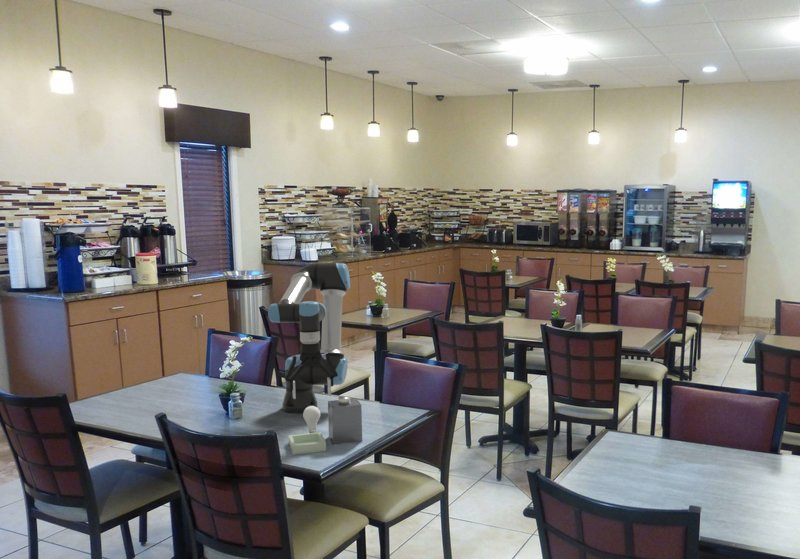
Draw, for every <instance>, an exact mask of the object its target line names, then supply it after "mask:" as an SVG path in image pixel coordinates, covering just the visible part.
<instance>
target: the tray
mask: <svg viewBox="0 0 800 559" xmlns="http://www.w3.org/2000/svg"><path fill="white" fill-rule="evenodd" d="M288 445H289V448H290V451H291V454H292V455H301V454H310V453H316V452H326V451H327V441H326V440H325V438H324V436H323V434H322V432H321V431H318V432H317V431H316V433H309V432H307V433H301V434H300V433H298V434H291V435H290V434H288Z"/></svg>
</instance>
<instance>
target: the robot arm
mask: <svg viewBox="0 0 800 559" xmlns="http://www.w3.org/2000/svg"><path fill="white" fill-rule="evenodd" d="M289 282H290V284H289V285H288V287H287V289H286V291H285V292H284V294H283V296H282V297H281V299H280V301H278V303H277V302H275V303H271V304H270V305H269V306H268V311H267V315H268V319H269V322H271V323H277V324H280V323H285V324H286V323H289V324H290V323H297V324H298V323H299V331H300V332H299V342H300V344H299V345H300V354H296V355H295V354H293V355H292V356H290V357H287V358H286V360H285V364H284V366H285V367H284V371H285V372H284V373H285V376H284V380H285V393H284V394H285V395H284V398H283V401H282V410H283V411H284V412H286V413H293V414H301V413H304V410H305V409H306V408H307V407H309V406H315V407H317V408H318V400H317V398H316V395H315V391H314V386H327V395H328V396H329V397H331V396H332V387H334V386H338V385H339V386H340V385H342V384H344V383H345V380H346V377H347V373H348V367H349V366H348V365H349V364H348V362H349V361H348V358H346V357H345V354H344V353H343V351H342V324H343V322H342V321H343V320H342V319H343V318H342V317H343V298H344V296H345V295H347V290H350V289H351V277H350V272H349V268H348V266H347V264H346V263H341V262H330V263H329V262H324V263H323V262H321V263H320V262H319V263H317V262H316V263H315V262H313V263H309V264H307V265H304V266H302V267H301V268H299V269H298V270H296V271H295V272H294V273H293V275H292V276H291V277H290V280H289ZM310 290H319V293H320V294H321V295H322V297H323V298H322V303H321V302H318V301H314V300H313V301H312V300H308V301H307V300H306V301H302V300H303V299H304V296H305V294H306V293H307V292H309V291H310ZM320 322H321V326H320ZM320 327H321V330H320ZM320 331H321V332H320ZM320 341H321V342H320Z"/></svg>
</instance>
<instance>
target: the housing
mask: <svg viewBox="0 0 800 559" xmlns="http://www.w3.org/2000/svg"><path fill="white" fill-rule="evenodd" d="M327 412H328V413H327V415H328V419H327V420H328V438H329V440H330V441H331V444H332V445H333V446H334V445H341V444H349V443H350V444H352V443H359V442H363V423H362V420H363V418H362V417H363V416H362V414H363V413H362V404H361V403H360V401H359V399H357V398H351V396H347V395H345V396H344V395H342V396H339V397H338V398H337V400H336V399H335V400H328V401H327Z"/></svg>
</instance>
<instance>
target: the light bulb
mask: <svg viewBox="0 0 800 559" xmlns="http://www.w3.org/2000/svg"><path fill="white" fill-rule="evenodd" d="M302 416H303V420H304V421H305V422H306V425H307V428H308V433H316V432H317V427H318V426H317V425H318V422H319V420H320V418H321V411H320V409H319V408H318V406H317V407H315V406H309V407H307V408H306V409H305V410H304V412H303V414H302Z"/></svg>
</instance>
